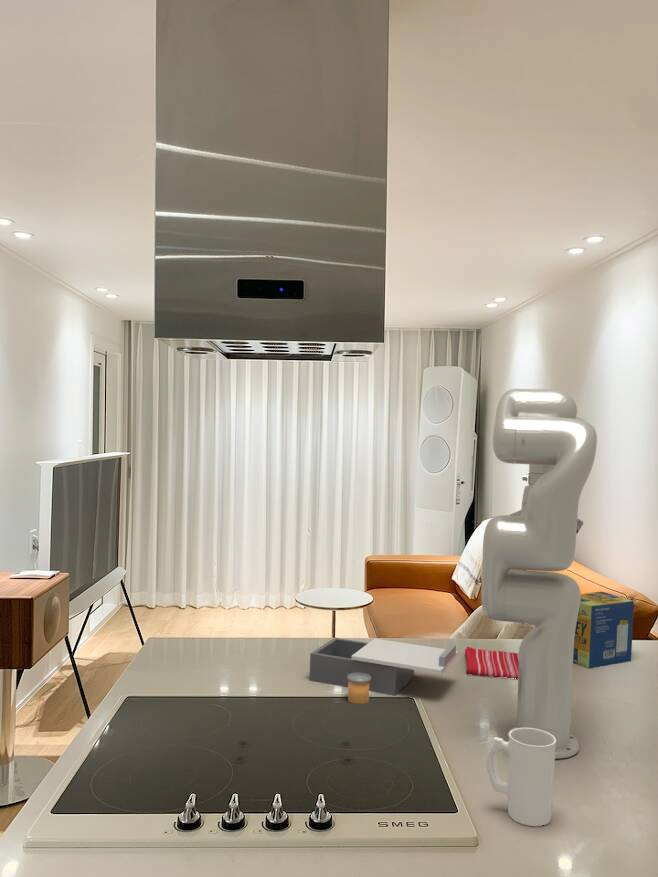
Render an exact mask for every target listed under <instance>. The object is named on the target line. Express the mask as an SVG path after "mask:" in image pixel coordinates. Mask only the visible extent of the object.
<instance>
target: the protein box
mask: <svg viewBox="0 0 658 877" xmlns="http://www.w3.org/2000/svg"><path fill="white" fill-rule="evenodd" d="M634 601H635V600H631V599H628V598H625V597H622V596H618V595H615V594H611V593H608V592H604V591H596V592H590V593H589V592H587V593H581V601H580V608H579V613H578V618H577V623H576V630H575V638H574V651H573V662H574V663H573V664H576V665H579V666H581V667H583V666H584V667H583V668H585V667H586V669H588V668H589V669H592V668H593V669H594V667H595V668H599V667H600V666H601V667H605V666H612V665H617V664H624V663H629V662H631V661H632V650H633V630H634V629H633V627H634V626H633V625H634V608H635V606H634V605H635V602H634Z"/></svg>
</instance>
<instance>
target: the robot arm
mask: <svg viewBox="0 0 658 877" xmlns="http://www.w3.org/2000/svg"><path fill="white" fill-rule="evenodd" d="M577 409H578V407H577V404H576V401H575V400H574V398H573V397H572V396H571V395H570V394H569V393H567V392H565V391H561V390H558V389H545V388H544V389H543V388H542V389H536V388H535V389H534V388H531V389H530V388H513V389H509V390H506V391H505V392H504V393H503V394H502V396H501V397H500V399H499V401H498V403H497V407H496V412H495V420H494V427H493V434H492V448H493V453H494V456H495V457H496V458H497V460H499V461H500V462H502V463H506V464H512V465H529V466H528V473H527V474H522V481H525V482H527V484H528V485H525V486H524V488H523V494H522V498H521V499H522V500H521V508H520V509H519V510H517V511H516V512H512V513H510V514H508V515H507V514H504V515H496V516H494V517H491V519H489V521H487V524H486V526H485V529H484V534H483V540H482V560H481V563H482V564H481V568H482V569H481V593H480V594H481V608H482V612H483V613H484V615H485V617H487V618H489V619H491V620H493V621H497V622H498V621H499V622H507V623H508V622H509V623H520V624H528V625H532V626H534V627H532V629H531V630H530V631H528V633H527V634H526V635H525V636H524V637H523V639H522V640H521V643H520V645H519V648H518V649H519V650H518V653H519V670H518V680H517V701H516V705H517V706H516V726H514V727H511V728H510V729H509V730H508V732H507V737H506V739H507V740H506V741H507V742H508V741H509V732H510V731H511V730H513V729H516V728H535V729H540V730H543V731H546V732H548V733H550V734H552V735H553V736H554V737H555V738H556V744H555V760H556V759H557V760H558V759H559V760H560V759H566V758H567V759H568V758H570V757H573V756H574V755H576V754H577V753H578V752H579V750H580V744H579V741H578V739H577V738H576V737H575V736H574V735H572V733H571V723H572V701H573V700H572V696H573V695H572V694H573V670H574V669H573V668H574V663H573V651H574V638H575V630H576V623H577V618H578V613H579V608H580V601H581V594H582V592H581V589H580V588H581V587H580V586H579V584H578V582H577V581H576V580H575V579H574V578H573V577H571V576H569V575H566V574H563V573H560V572H562V571H565V570H567V569H569V568H570V567H571V565H572V564H573V562H574V558H575V555H576V554H575V552H576V544H577V543H576V542H577V534H578V533H579V532H580V530H581V528H582V526H583V525H584V521H583V520H581V519H579V518H578V515H579V504H580V497H581V494H582V492H583V489H584V487H585V485H586V482H587V481H588V478H589V476H590V473H591V472H592V471H591V470H592V468H593V466H594V462H595V458H596V453H597V443H598V442H597V441H598V438H597V437H598V436H597V431H596V429H595V426H593V424H591V422H588V421H586V420H585V419H584V418H581V417H579V416H578V415H577V414H578V413H577V412H578V410H577Z"/></svg>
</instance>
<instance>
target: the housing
mask: <svg viewBox="0 0 658 877" xmlns="http://www.w3.org/2000/svg"><path fill="white" fill-rule="evenodd" d="M368 643H369V642H364V641H358V640H352V639H346V638H345V639H344V638H339V637H333V638H332V639H330V640H329V641H327V642H326V643H324V644H323V645H321V646H320V647H318V648H317V649H315V650H314V651H312V652H310V654H309V656H310V657H309V658H310V659H309V681H312V682H317V683H322V684H329V685H334V686H335V685H336V686H340V687H345V688H348V680H347V675H348V674H350V673H355V672H360V673H366V674H369V675H370V676H371V681H370V685H369V692H374V693H379V694H384V695H388V696H389V695H390V696H391V695H392V696H396V695H397V694H398V693H399V692H400V691H401V690H402V689H403V688H404V686H406V685H407V684H408V683H409V681H410V680H412V678H413V677H414V676H415V670H412V669H406V668H400V667H394V666H388V665H382V664H376V663H370V662H363V661H357V660H351V657H352V655H353V654H355V653H356V652H357V651H359V650H360V649H361V648H363V647H364V646H365V645H367V644H368Z"/></svg>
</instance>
